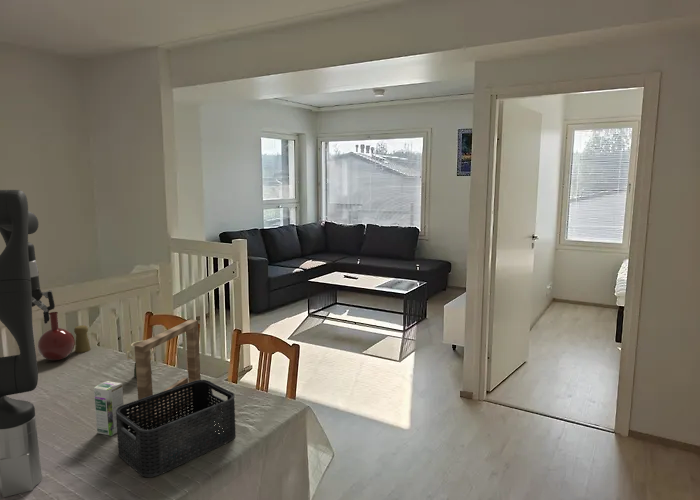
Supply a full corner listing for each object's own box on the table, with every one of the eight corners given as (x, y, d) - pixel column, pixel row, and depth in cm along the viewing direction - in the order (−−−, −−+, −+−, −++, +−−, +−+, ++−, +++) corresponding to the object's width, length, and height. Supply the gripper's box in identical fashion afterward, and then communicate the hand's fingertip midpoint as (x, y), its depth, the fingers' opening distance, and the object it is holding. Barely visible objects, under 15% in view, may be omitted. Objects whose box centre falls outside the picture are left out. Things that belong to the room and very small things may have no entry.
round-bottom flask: (74, 362, 199) (70, 315, 196) (37, 367, 193) (31, 319, 190) (77, 351, 211) (73, 307, 207) (41, 356, 205) (36, 310, 202)
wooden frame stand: (158, 425, 150) (153, 348, 146) (129, 420, 153) (123, 344, 149) (210, 387, 176) (207, 321, 172) (184, 383, 179) (181, 318, 175)
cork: (83, 353, 209) (81, 328, 207) (71, 352, 210) (69, 327, 208) (93, 348, 214) (91, 324, 213) (81, 347, 216) (79, 323, 214)
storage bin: (204, 415, 156) (202, 376, 154) (241, 437, 144) (239, 394, 142) (114, 453, 135) (110, 408, 133) (147, 483, 122) (143, 434, 120)
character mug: (132, 383, 179) (129, 349, 177) (124, 377, 185) (122, 344, 182) (161, 374, 187) (159, 342, 185) (153, 369, 192) (151, 337, 190)
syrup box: (96, 433, 145) (92, 387, 143) (111, 423, 151) (107, 379, 148) (111, 436, 143) (107, 390, 141) (126, 426, 149) (122, 382, 147)
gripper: (-5, 280, 147) (1, 331, 149) (49, 274, 154) (55, 324, 156) (-2, 276, 154) (5, 325, 156) (51, 271, 160) (57, 318, 163)
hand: (30, 325), depth 156 cm, fingers open, 8 cm apart
